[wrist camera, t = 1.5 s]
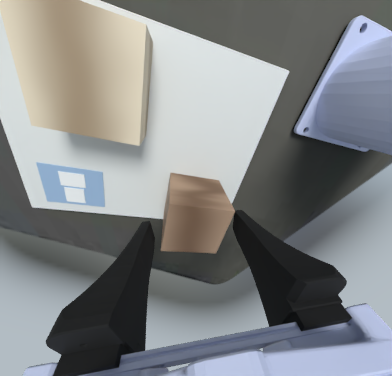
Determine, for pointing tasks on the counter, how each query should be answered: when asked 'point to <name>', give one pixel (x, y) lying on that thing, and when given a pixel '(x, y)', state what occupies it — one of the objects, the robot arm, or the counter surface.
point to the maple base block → (81, 67)
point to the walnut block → (195, 214)
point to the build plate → (149, 129)
